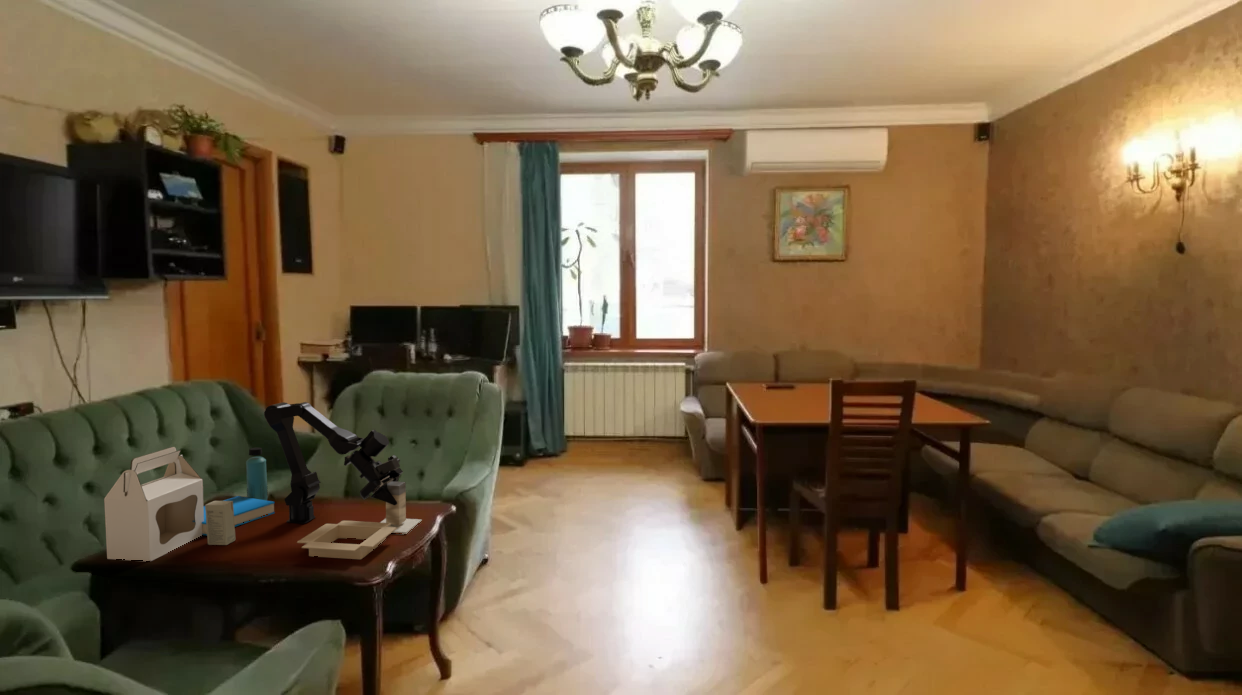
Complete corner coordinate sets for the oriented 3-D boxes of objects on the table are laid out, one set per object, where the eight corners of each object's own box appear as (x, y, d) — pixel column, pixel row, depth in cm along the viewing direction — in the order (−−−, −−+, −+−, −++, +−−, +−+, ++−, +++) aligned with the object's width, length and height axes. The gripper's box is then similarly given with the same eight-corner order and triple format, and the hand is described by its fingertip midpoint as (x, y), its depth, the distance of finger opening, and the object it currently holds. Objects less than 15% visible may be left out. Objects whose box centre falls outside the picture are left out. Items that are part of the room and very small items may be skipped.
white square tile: (369, 532, 221) (369, 529, 221) (386, 519, 233) (386, 517, 233) (406, 534, 219) (406, 532, 219) (421, 521, 231) (421, 519, 231)
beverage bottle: (270, 504, 247) (269, 448, 245) (250, 508, 242) (248, 451, 240) (264, 500, 251) (262, 445, 249) (244, 504, 247) (242, 447, 245)
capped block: (386, 523, 224) (385, 485, 223) (392, 519, 228) (392, 481, 227) (399, 524, 223) (399, 486, 222) (405, 520, 228) (405, 482, 227)
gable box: (149, 562, 195) (144, 463, 193) (105, 559, 197) (100, 460, 194) (205, 534, 217) (202, 444, 215) (166, 532, 219) (162, 443, 216)
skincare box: (236, 540, 212) (234, 500, 211) (226, 545, 208) (225, 505, 207) (215, 539, 213) (214, 499, 212) (206, 544, 209) (204, 504, 208)
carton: (290, 560, 198) (289, 546, 198) (332, 532, 220) (332, 519, 220) (366, 565, 195) (366, 551, 195) (401, 536, 218) (401, 523, 217)
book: (275, 501, 238) (208, 522, 214) (275, 514, 238) (208, 536, 215) (237, 495, 244) (168, 514, 220) (237, 507, 244) (168, 528, 221)
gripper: (368, 456, 215) (403, 494, 214) (397, 443, 234) (429, 477, 233) (345, 480, 217) (379, 517, 216) (375, 465, 235) (406, 499, 235)
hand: (399, 502), depth 225 cm, fingers closed on capped block, 4 cm apart
